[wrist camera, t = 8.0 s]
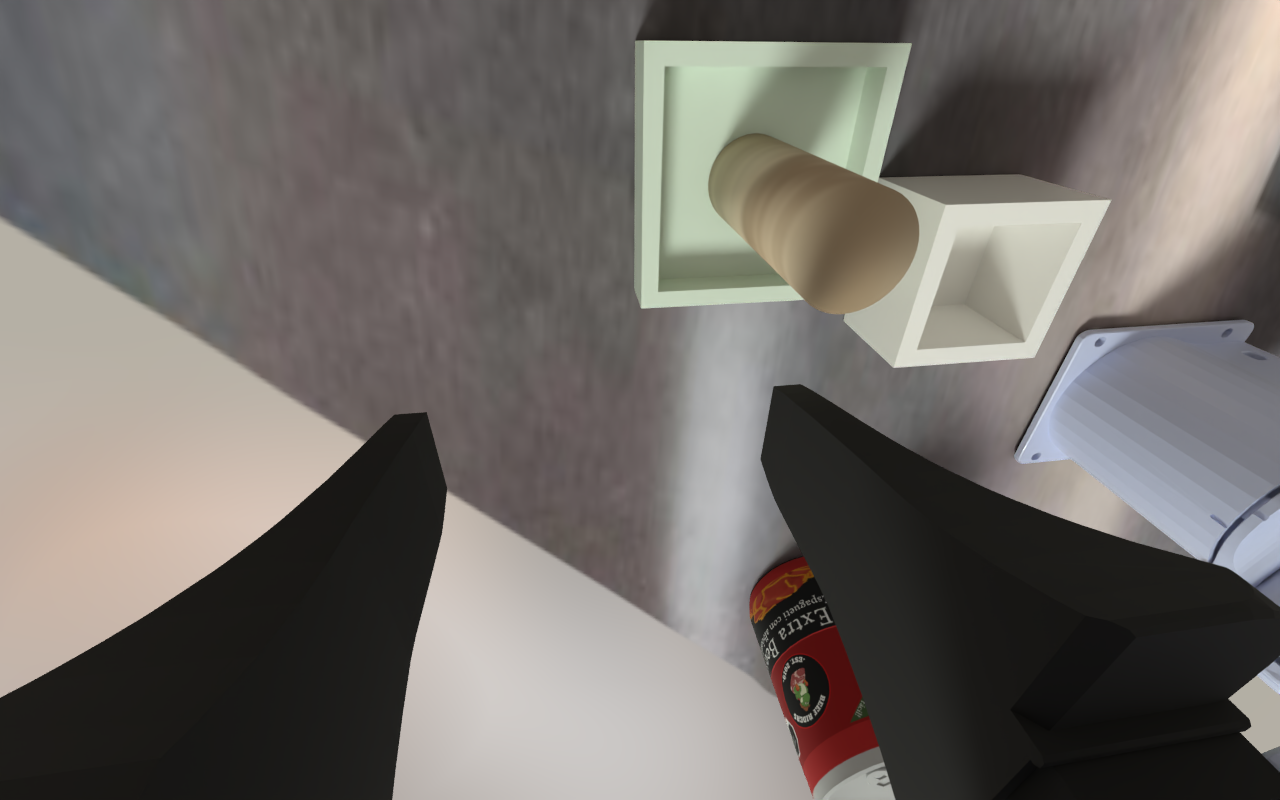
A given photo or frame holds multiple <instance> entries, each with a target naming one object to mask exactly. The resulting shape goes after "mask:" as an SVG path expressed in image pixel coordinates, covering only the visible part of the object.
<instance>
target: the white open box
mask: <svg viewBox="0 0 1280 800" xmlns="http://www.w3.org/2000/svg"><path fill="white" fill-rule="evenodd" d="M878 183H880V184H882V185H884V186H887V187H889V188H891V189H894V190H896V191H898V192H899V193H901V194H903V195H904V196H905V197H906V198H907V199H908V200H909V201H910V203H911V204H912V205H913V207H914V209H915V211H916V214H917V217H918V221H919V242H918V247H917V251H916V254H915V256H914V259H913V261H912V263H911V265H910V267H909V269H908V271H907V272H906V274H905V275H904V277H903V278H902V279H901V281H900V282H899V283H898V284H897V285H896V286H895V288H894V289H893V290H891V291H890V292H889V293H888V294H887V295H886V296H885V297H883V298H882V299H881V300H879V301H878V302H876V303H874V304H873V305H871V306H869V307H867V308H864V309H862V310H859V311H856V312H852V313H846V314H845V316H844V322H845V323H846V324H847V325H848V326H849V327H851V328H852V329H853V330H854V331H855V332H856V333H857V334H858V335H859V336H860V337H861V338H862V339H863V340H864V341H865V342H867V343H868V344H869V345H870V346H871V347H872V348H873V349H874V350H875V351H876V352H877V353H878V354H879V355H880V356H881V357H883V358H884V359H885V360H886V361H887V362H888V363H889V364H890V365H891V366H892V367H893V368H897V367H910V366H924V365H938V364H952V363H966V362H980V361H994V360H1007V359H1021V358H1034V357H1035V355H1036V353H1037V351H1038V349H1039V347H1040V345H1041V343H1042V341H1043V339H1044V337H1045V335H1046V333H1047V331H1048V328H1049V326H1050V324H1051V322H1052V320H1053V318H1054V316H1055V314H1056V312H1057V310H1058V308H1059V306H1060V304H1061V302H1062V300H1063V298H1064V296H1065V294H1066V292H1067V290H1068V288H1069V286H1070V284H1071V282H1072V279H1073V277H1074V275H1075V273H1076V271H1077V269H1078V267H1079V265H1080V263H1081V261H1082V259H1083V257H1084V255H1085V253H1086V251H1087V249H1088V247H1089V245H1090V243H1091V241H1092V239H1093V237H1094V235H1095V233H1096V231H1097V228H1098V226H1099V224H1100V222H1101V220H1102V218H1103V216H1104V214H1105V212H1106V210H1107V208H1108V206H1109V204H1110V202H1111V200H1110V199H1107V198H1103V197H1100V196H1096V195H1092V194H1089V193H1085V192H1082V191H1078V190H1075V189H1071V188H1067V187H1064V186H1060V185H1057V184H1053V183H1049V182H1046V181H1042V180H1039V179H1035V178H1032V177H1028V176H1024V175H1021V174H1010V175H967V176H925V177H882V178H879V179H878Z"/></svg>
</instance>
